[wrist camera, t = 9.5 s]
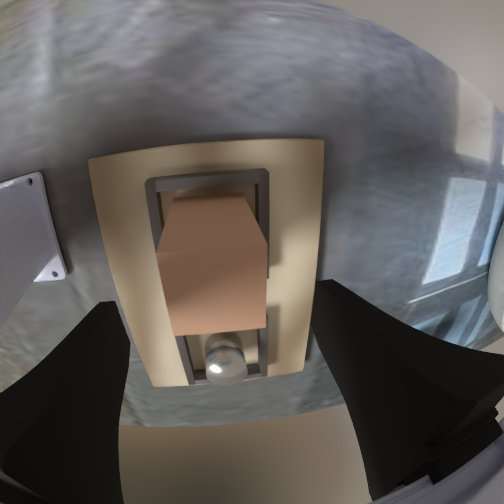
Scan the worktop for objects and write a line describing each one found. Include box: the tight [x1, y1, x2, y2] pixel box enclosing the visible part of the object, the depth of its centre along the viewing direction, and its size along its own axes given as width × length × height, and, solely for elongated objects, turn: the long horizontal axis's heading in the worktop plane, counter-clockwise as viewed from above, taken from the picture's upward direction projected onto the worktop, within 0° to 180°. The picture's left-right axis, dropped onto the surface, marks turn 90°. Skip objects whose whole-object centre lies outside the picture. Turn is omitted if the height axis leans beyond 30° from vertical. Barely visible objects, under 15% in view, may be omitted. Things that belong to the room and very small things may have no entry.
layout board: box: [88, 139, 324, 387], centre depth 19 cm, size 14×20×2 cm
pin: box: [204, 332, 248, 386], centre depth 20 cm, size 3×3×3 cm
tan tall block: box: [156, 193, 267, 336], centre depth 14 cm, size 4×4×7 cm
